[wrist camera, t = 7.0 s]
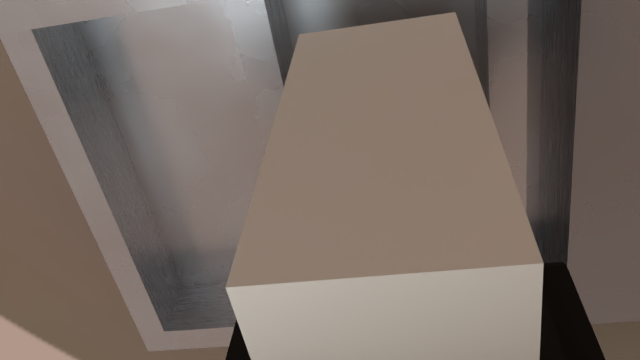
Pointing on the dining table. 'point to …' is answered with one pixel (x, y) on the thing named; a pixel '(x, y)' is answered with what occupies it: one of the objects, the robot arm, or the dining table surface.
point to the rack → (259, 113)
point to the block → (386, 209)
